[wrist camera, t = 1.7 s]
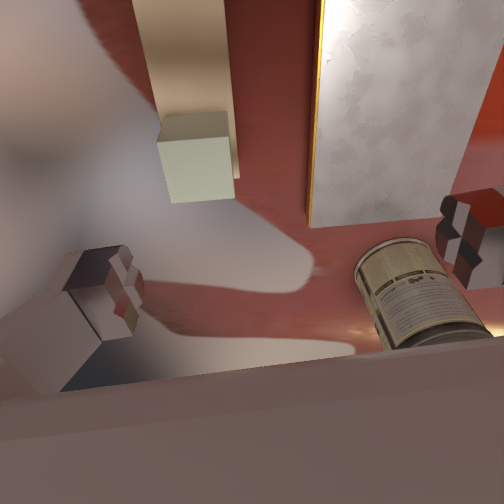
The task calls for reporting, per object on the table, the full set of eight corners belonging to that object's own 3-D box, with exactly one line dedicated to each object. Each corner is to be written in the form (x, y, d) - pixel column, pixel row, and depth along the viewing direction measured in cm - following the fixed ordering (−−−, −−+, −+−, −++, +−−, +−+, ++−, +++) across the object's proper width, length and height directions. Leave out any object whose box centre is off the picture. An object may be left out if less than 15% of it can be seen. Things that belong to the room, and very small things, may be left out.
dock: (321, -173, 21) (333, -188, 19) (554, -190, 21) (594, -207, 19) (303, 212, 39) (308, 228, 37) (428, 201, 40) (441, 216, 37)
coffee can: (447, 261, 46) (515, 355, 35) (382, 303, 51) (425, 396, 40) (404, 222, 41) (468, 316, 31) (337, 272, 46) (372, 368, 35)
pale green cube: (165, 116, 28) (156, 142, 24) (227, 111, 28) (228, 136, 24) (177, 172, 31) (171, 203, 27) (233, 168, 31) (234, 198, 27)
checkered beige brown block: (104, -182, 20) (84, -205, 17) (206, -189, 21) (204, -213, 18) (178, 163, 35) (174, 183, 32) (238, 158, 35) (239, 178, 32)
